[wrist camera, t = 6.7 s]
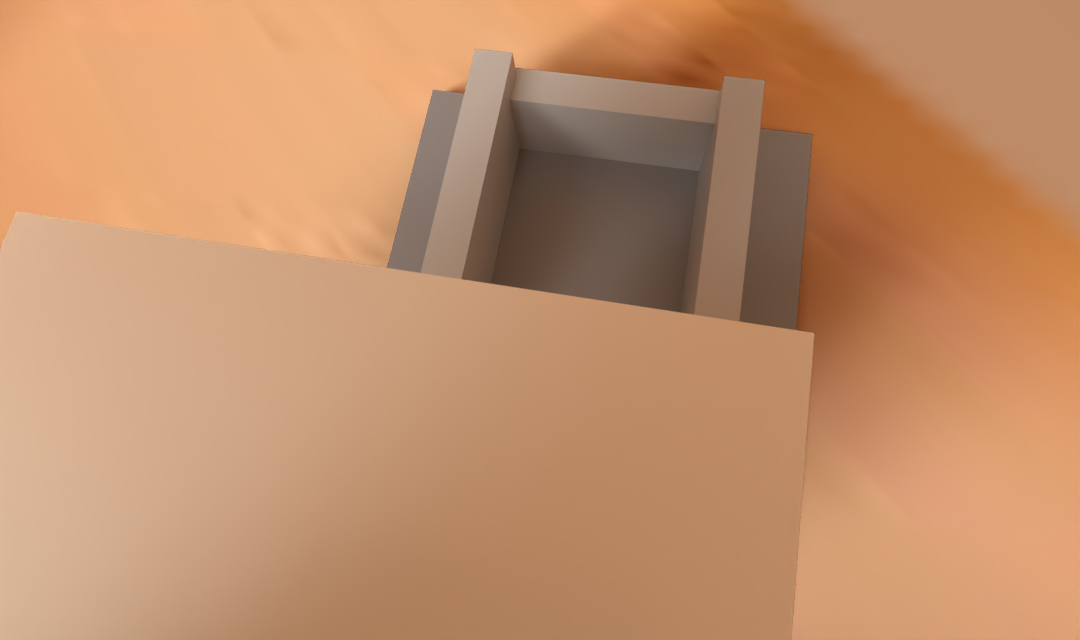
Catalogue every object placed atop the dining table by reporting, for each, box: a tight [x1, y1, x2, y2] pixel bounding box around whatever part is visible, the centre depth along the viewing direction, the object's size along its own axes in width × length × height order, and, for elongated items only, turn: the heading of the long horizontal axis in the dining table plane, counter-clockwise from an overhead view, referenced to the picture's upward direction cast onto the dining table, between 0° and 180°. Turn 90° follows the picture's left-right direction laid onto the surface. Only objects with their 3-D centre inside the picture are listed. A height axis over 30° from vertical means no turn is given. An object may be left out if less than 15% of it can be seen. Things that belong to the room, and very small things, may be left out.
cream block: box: [0, 212, 814, 640], centre depth 9 cm, size 5×4×12 cm
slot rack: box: [387, 49, 813, 330], centre depth 21 cm, size 14×14×5 cm
